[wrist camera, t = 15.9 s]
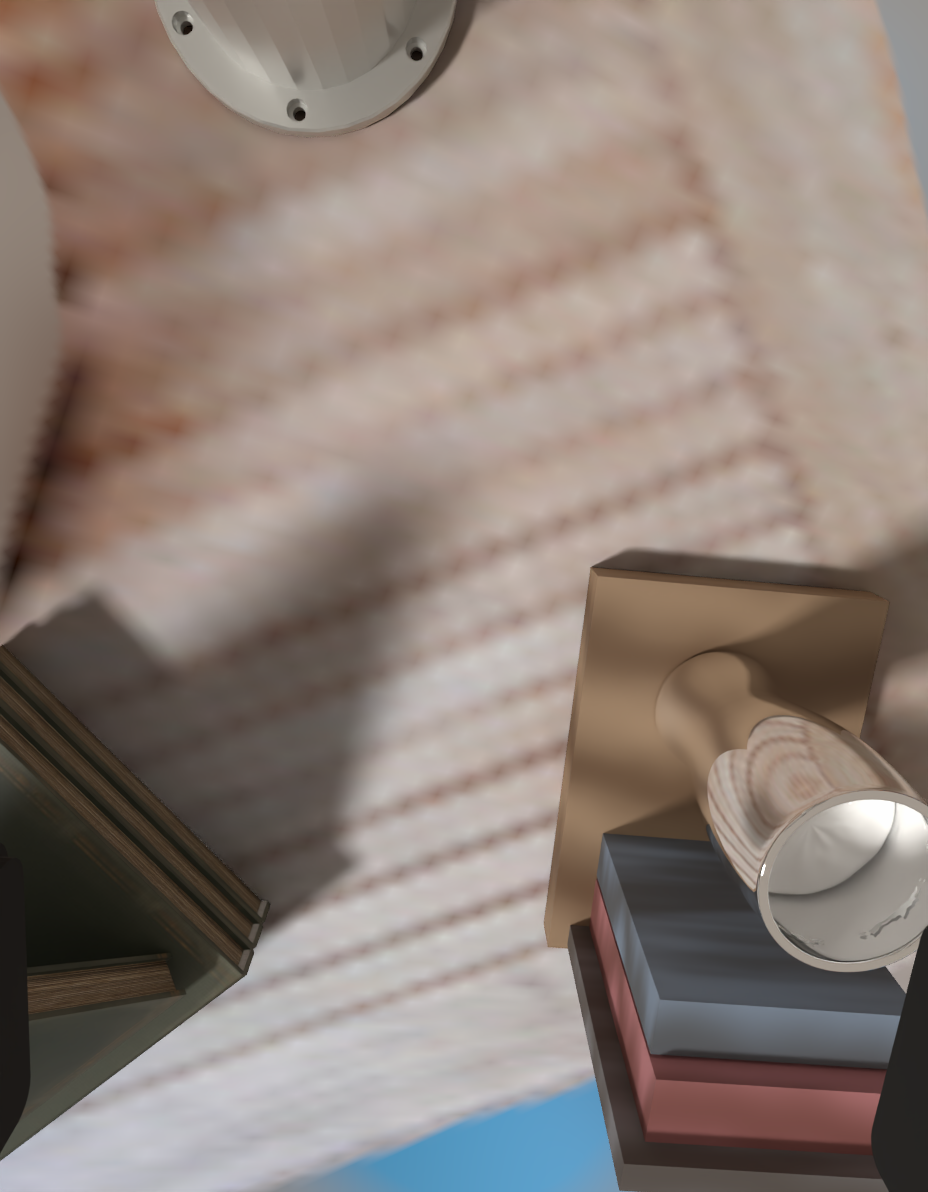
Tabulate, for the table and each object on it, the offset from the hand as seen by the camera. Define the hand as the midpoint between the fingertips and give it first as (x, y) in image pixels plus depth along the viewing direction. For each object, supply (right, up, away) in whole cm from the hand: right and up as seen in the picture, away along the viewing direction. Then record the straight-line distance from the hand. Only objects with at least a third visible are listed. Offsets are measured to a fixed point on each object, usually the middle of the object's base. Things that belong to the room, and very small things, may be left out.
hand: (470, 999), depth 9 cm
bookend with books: (+12, -5, +36) cm, 38 cm away
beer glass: (+12, -1, +33) cm, 35 cm away
